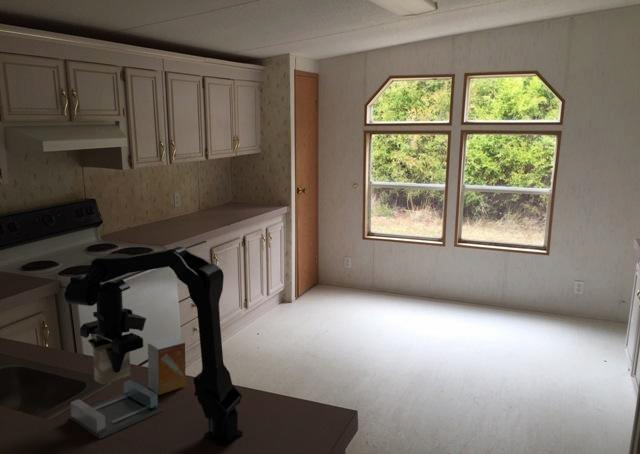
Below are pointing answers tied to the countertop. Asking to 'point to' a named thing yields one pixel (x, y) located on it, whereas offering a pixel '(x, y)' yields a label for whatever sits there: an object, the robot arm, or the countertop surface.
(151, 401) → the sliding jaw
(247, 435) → the countertop surface
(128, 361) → the ash block
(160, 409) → the vise bed
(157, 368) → the small box
